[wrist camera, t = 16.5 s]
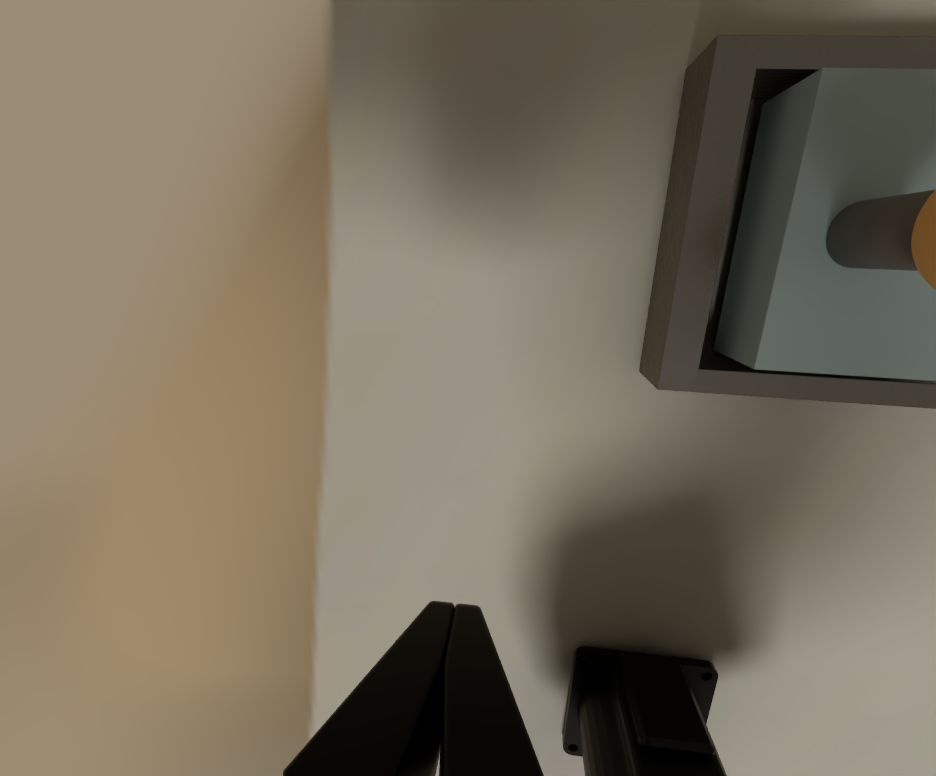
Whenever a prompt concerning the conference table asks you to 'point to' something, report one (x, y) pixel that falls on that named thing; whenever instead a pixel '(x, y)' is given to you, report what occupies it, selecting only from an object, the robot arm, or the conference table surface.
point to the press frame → (708, 201)
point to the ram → (839, 230)
